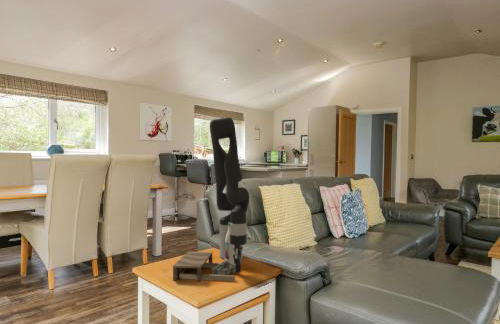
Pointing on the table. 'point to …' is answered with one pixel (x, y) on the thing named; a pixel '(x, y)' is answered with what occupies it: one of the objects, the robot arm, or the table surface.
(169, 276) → the table surface
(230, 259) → the milk bottle
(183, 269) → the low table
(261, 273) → the table surface
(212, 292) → the table surface
